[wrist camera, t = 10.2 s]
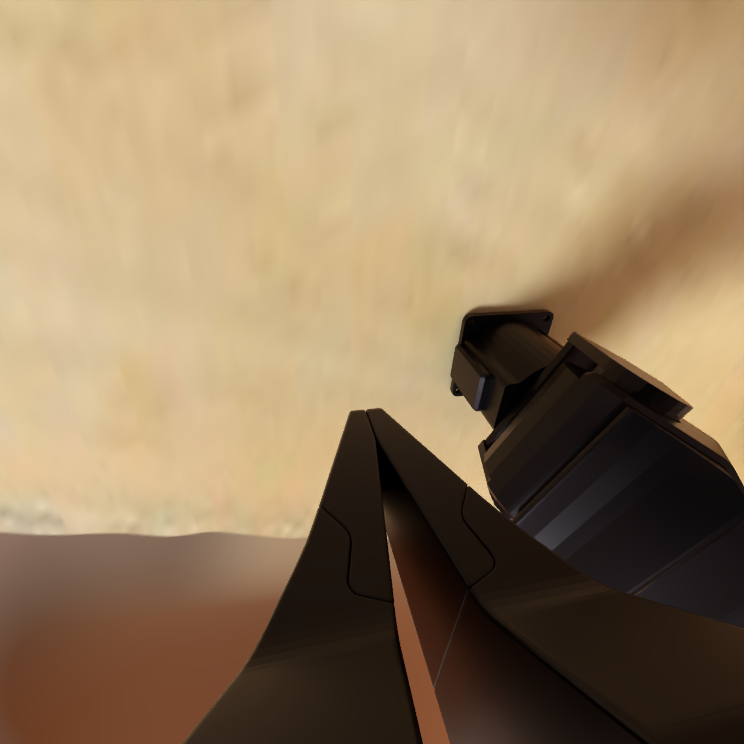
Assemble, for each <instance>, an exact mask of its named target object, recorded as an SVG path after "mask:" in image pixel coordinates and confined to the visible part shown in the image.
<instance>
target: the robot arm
mask: <svg viewBox="0 0 744 744" xmlns="http://www.w3.org/2000/svg"><path fill="white" fill-rule="evenodd" d="M545 316H546V318H545V319H543V318H544V317H545ZM472 319H473V321H472V323H471V324H468V322H469V321H470V320H472ZM552 320H553V313H551V312H550V311H548V310H530V311H511V312H492V313H474V314H468V315H466V316H465V317H464V318H463V320H462V326H461V331H460V337H459V342H458V344H457V346H456V347H455V352H454V358H453V364H452V369H451V378H452V382H451V388H450V390H451V392H452V394H453V395H454V396H464V397H465V398H466V400H467V401H468V403H469V404H470V405H471V407H472V408H473V409H474V410H475V411H481V413H482V414H483V415H484V417H485V418H486V420H487V421H488V422H489V424H490V425H491V427H492V428H493V431H492V433H491V434H490V435H489V436H488V437H487V439H486V440H483V441H482V442H481V443H480V444H479V446H478V449H479V453H480V457H481V461H482V465H483V469H484V473H485V477H486V481H487V486H488V489H489V492H490V495H491V498H492V500H493V502H494V505H495V506H496V507H497V508H498V509H499V510H500V512H501V513H500V512H499V511H498V510H497V509H496V508H494V507H493V506H492V505H491V504H490V503H488V502H487V501H486V500H485V499H484V498H482V497H481V496H480V495H479V494H478V493H477V492H476V491H474V490H473V489H472V488H471V487H470V486H468V487H467V484H466V483H465V482H464V481H463V480H462V479H461V478H460V477H458V476H457V475H456V474H455V473H454V472H453V471H452V470H451V469H449V468H448V467H447V466H446V465H445V464H444V463H443V462H441V461H440V460H439V459H438V458H437V457H436V456H435V455H434V454H432V453H431V452H430V451H429V450H428V449H427V448H426V447H425V446H423V445H422V444H421V443H420V442H419V441H418V440H417V439H415V438H414V437H413V436H412V435H411V434H410V433H409V432H408V431H406V430H405V429H404V428H403V427H402V426H401V425H400V424H399V423H397V422H396V421H395V420H394V419H393V418H392V417H391V416H389V415H388V414H387V413H386V412H385V411H384V410H383V409H381V408H375V409H367V410H366V411H365V410H355V411H351V412H350V413H349V416H348V419H347V422H346V425H345V428H344V431H343V434H342V437H341V440H340V444H339V447H338V450H337V453H336V456H335V459H334V462H333V465H332V468H331V471H330V474H329V477H328V480H327V483H326V486H325V489H324V493H323V496H322V499H321V502H320V505H319V508H318V510H317V513H316V516H315V519H314V522H313V525H312V528H311V531H310V533H309V536H308V539H307V542H306V544H305V546H304V548H303V551H302V553H301V555H300V558H299V560H298V562H297V564H296V567H295V569H294V571H293V573H292V575H291V577H290V579H289V581H288V583H287V585H286V587H285V589H284V591H283V593H282V595H281V597H280V600H279V602H278V604H277V606H276V608H275V610H274V612H273V614H272V616H271V618H270V620H269V622H268V624H267V626H266V628H265V630H264V632H263V634H262V636H261V638H260V640H259V642H258V644H257V645H256V647H255V649H254V651H253V653H252V654H251V656H250V657H249V659H248V661H247V662H246V664H245V665H244V667H243V668H242V670H241V671H240V672H239V673H238V675H237V676H236V677H235V679H234V680H233V681H232V682H231V684H230V685H229V686H228V687H227V689H226V690H225V691H224V692H223V694H222V695H221V696H220V697H219V699H218V700H217V701H216V702H215V703H214V705H213V706H212V707H211V708H210V710H209V711H208V712H207V714H206V715H205V716H204V717H203V718H202V720H201V721H200V722H199V723H198V725H197V726H196V727H195V728H194V730H193V731H192V732H191V733H190V735H189V736H188V737H187V738H186V739H185V741H184V742H183V743H182V744H423V742H422V738H421V733H420V729H419V725H418V720H417V716H416V712H415V707H414V703H413V699H412V694H411V690H410V686H409V681H408V677H407V673H406V668H405V664H404V660H403V655H402V651H401V647H400V642H399V636H398V630H397V623H396V616H395V607H394V597H393V588H392V579H391V570H390V561H389V553H388V543H387V535H388V539H389V542H390V545H391V548H392V552H393V555H394V558H395V562H396V565H397V568H398V571H399V575H400V578H401V581H402V585H403V588H404V591H405V595H406V597H407V601H408V605H409V608H410V611H411V615H412V618H413V621H414V624H415V628H416V631H417V635H418V638H419V641H420V644H421V648H422V651H423V654H424V658H425V661H426V664H427V668H428V671H429V674H430V677H431V681H432V684H433V687H434V688H435V695H436V698H437V701H438V704H439V708H440V711H441V715H442V718H443V721H444V724H445V728H446V731H447V734H448V738H449V741H450V744H744V486H743V484H742V482H741V480H740V478H739V476H738V475H737V473H736V471H735V469H734V467H733V466H732V464H731V462H730V461H729V459H728V458H727V456H726V454H725V453H724V451H723V450H722V448H721V446H720V445H719V444H718V442H717V441H715V440H714V439H713V438H712V437H710V436H709V435H707V434H706V433H704V432H703V431H701V430H700V429H698V428H697V427H695V426H694V425H692V424H690V423H689V422H687V421H686V420H684V419H683V417H684V416H685V415H686V414H687V413H688V412H690V411H691V410H692V409H693V407H692V406H691V405H690V404H689V403H687V402H686V401H685V400H684V399H682V398H681V397H680V396H678V395H677V394H676V393H675V392H673V391H672V390H671V389H670V388H668V387H667V386H666V385H665V384H663V383H662V382H660V381H659V380H657V379H656V378H654V377H652V376H651V375H649V374H648V373H646V372H644V371H643V370H641V369H639V368H638V367H636V366H635V365H633V364H631V363H630V362H628V361H626V360H625V359H623V358H621V357H619V356H618V355H616V354H614V353H612V352H610V351H609V350H607V349H605V348H603V347H601V346H599V345H598V344H596V343H594V342H592V341H590V340H589V339H587V338H585V337H583V336H581V335H580V334H578V333H576V332H573V333H572V334H571V335H570V337H569V338H568V339H567V340H568V342H567V343H566V344H565V346H564V347H563V346H562V345H561V344H559V343H558V342H557V341H555V340H554V339H553V338H551V337H550V336H549V335H548V333H549V330H550V327H551V323H552ZM458 388H459V389H458ZM456 389H458V390H456ZM386 532H387V534H386Z"/></svg>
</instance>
